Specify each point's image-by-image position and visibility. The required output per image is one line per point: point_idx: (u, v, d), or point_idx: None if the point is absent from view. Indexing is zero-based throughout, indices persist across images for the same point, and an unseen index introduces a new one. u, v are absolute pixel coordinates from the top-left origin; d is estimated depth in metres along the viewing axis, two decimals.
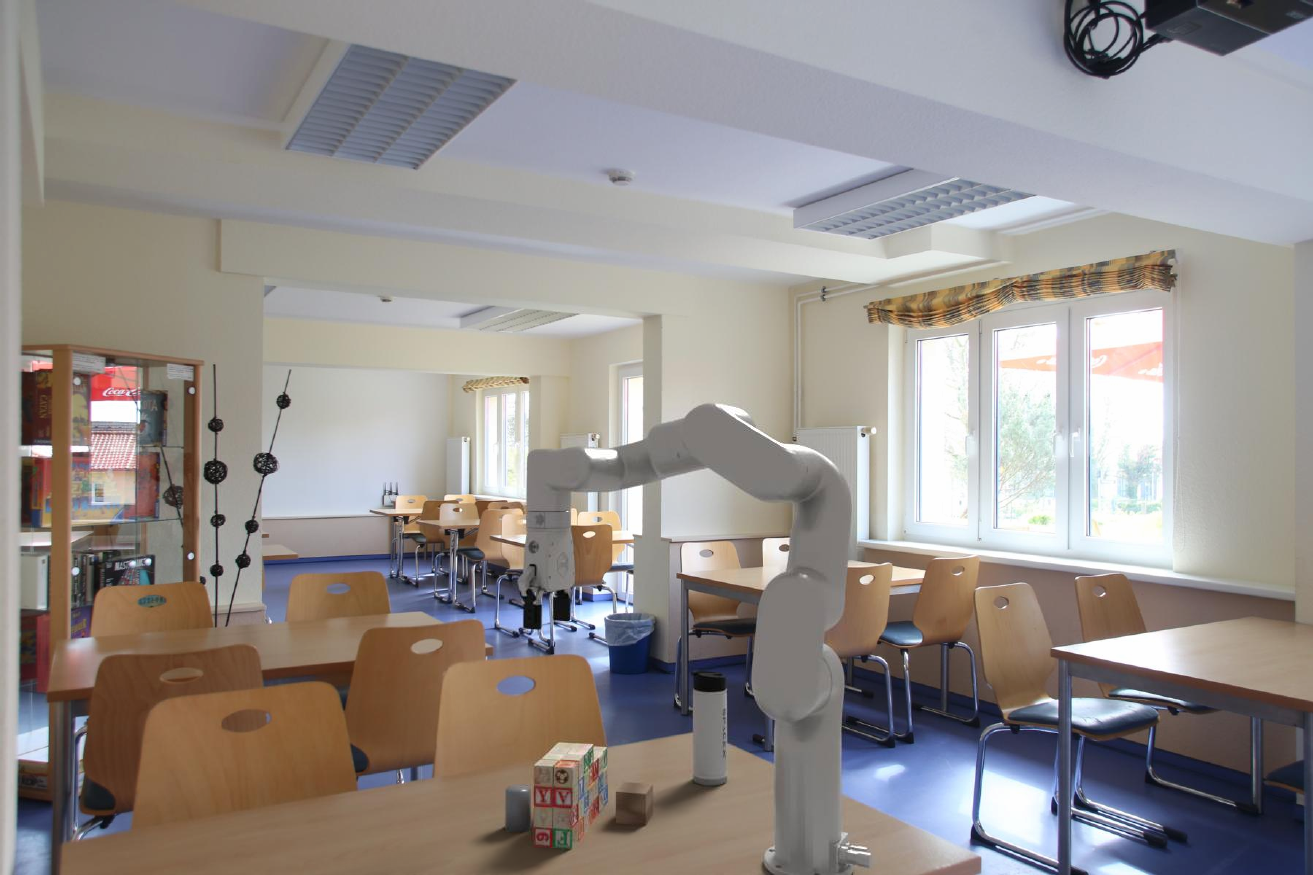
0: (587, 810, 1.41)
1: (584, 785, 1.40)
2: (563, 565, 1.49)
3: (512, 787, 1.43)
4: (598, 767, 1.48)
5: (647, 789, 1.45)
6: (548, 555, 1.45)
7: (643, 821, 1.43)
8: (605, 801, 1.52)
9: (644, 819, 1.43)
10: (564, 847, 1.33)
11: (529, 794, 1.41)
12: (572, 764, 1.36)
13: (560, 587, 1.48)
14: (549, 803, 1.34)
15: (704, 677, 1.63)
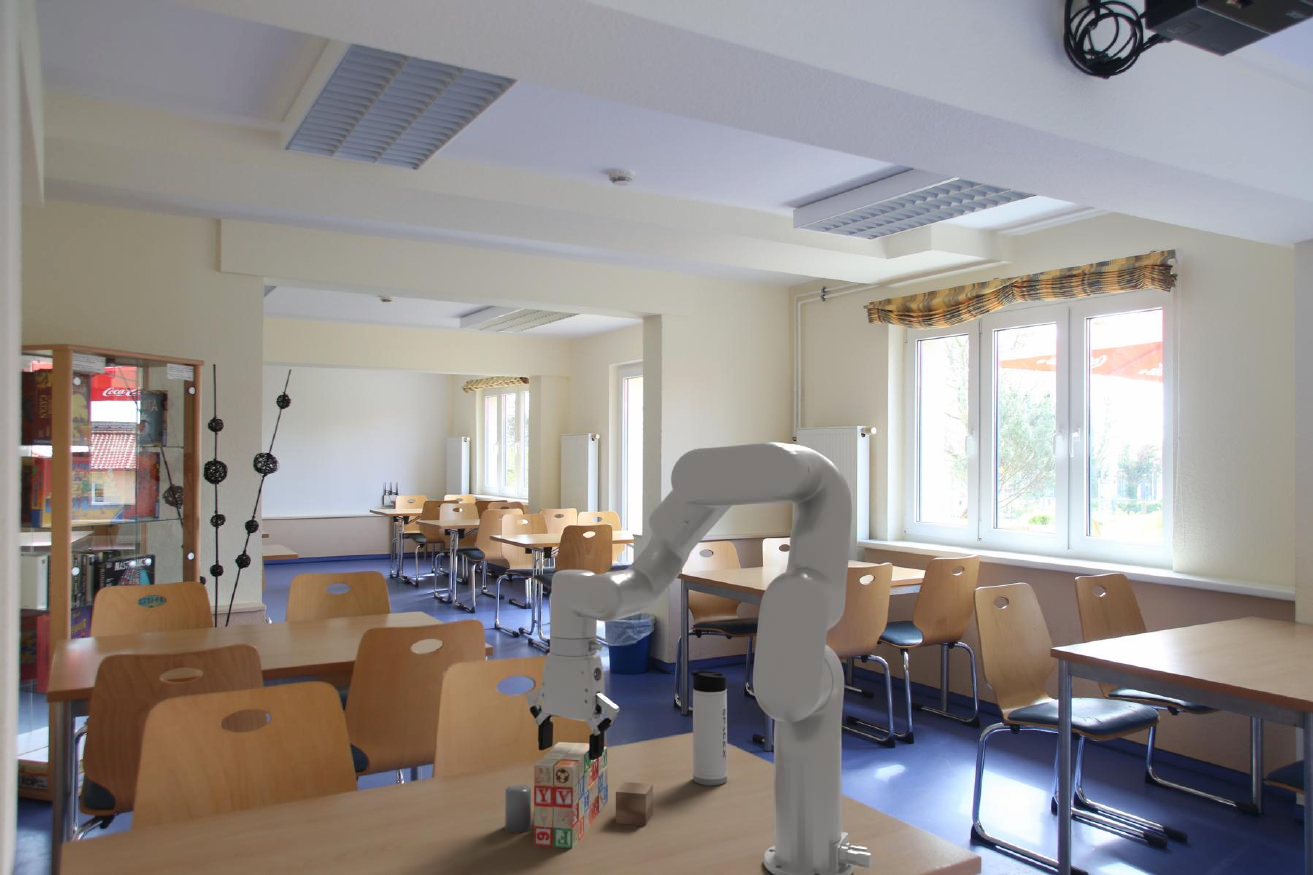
0: (587, 809, 1.41)
1: (584, 784, 1.40)
2: None
3: (512, 787, 1.43)
4: (598, 766, 1.49)
5: (647, 789, 1.45)
6: None
7: (643, 821, 1.43)
8: (605, 800, 1.53)
9: (644, 819, 1.43)
10: (564, 846, 1.34)
11: (529, 794, 1.41)
12: (572, 763, 1.36)
13: None
14: (550, 802, 1.34)
15: (704, 677, 1.63)
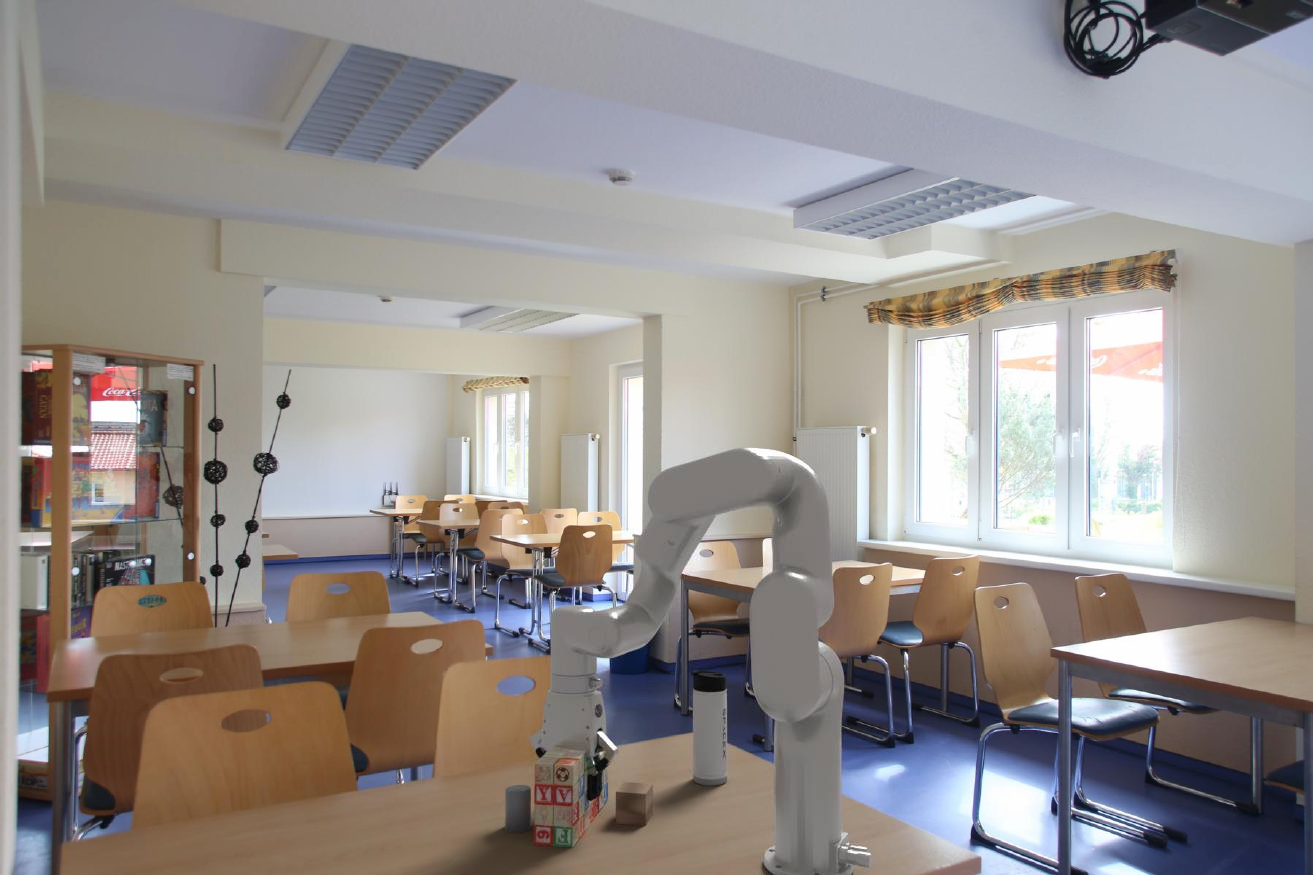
0: (587, 808, 1.42)
1: (584, 783, 1.40)
2: None
3: (512, 787, 1.43)
4: None
5: (647, 789, 1.45)
6: None
7: (643, 821, 1.43)
8: (605, 799, 1.53)
9: (644, 819, 1.43)
10: (564, 844, 1.34)
11: (529, 794, 1.41)
12: (573, 762, 1.36)
13: None
14: (550, 801, 1.35)
15: (704, 677, 1.63)
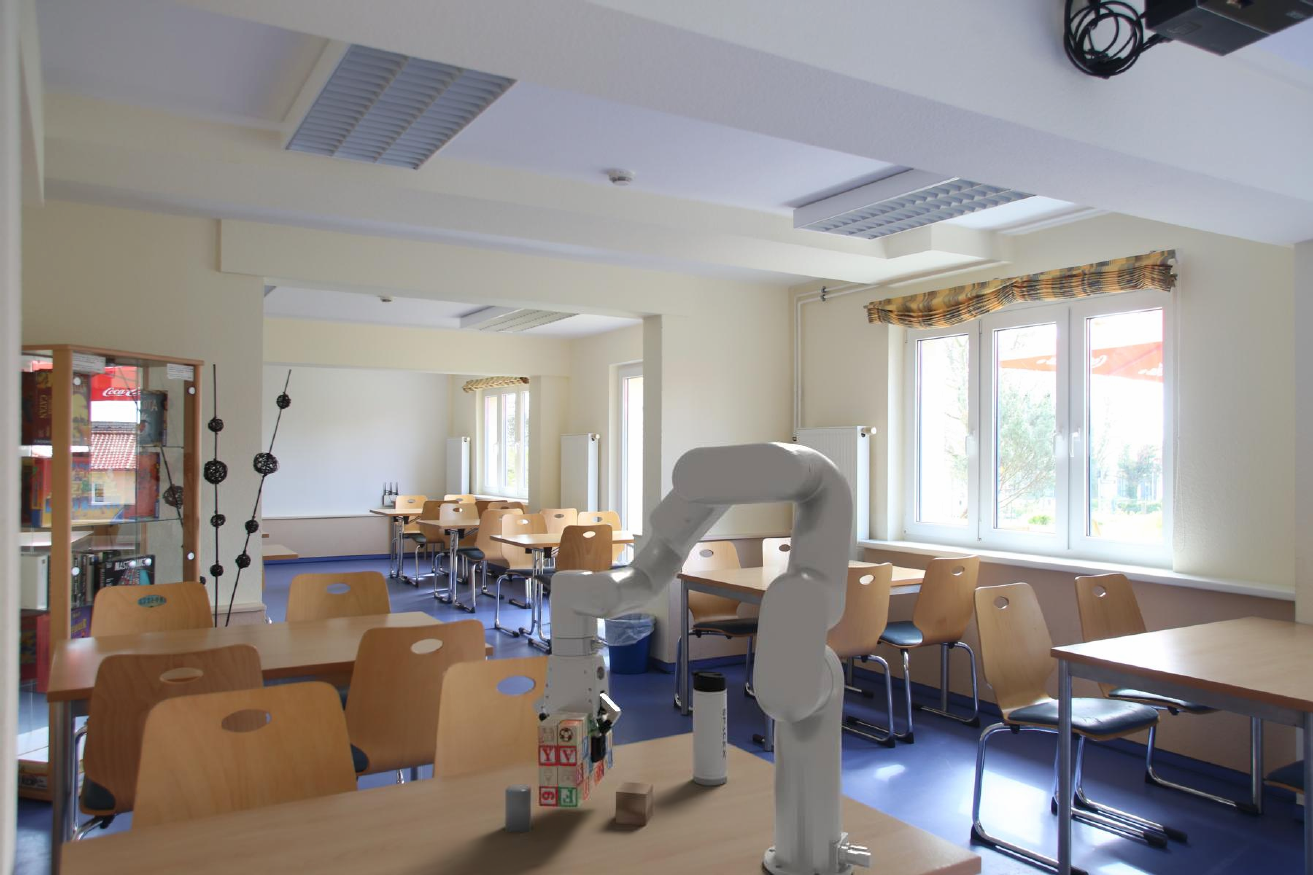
0: (592, 770, 1.42)
1: (588, 745, 1.40)
2: None
3: (512, 787, 1.43)
4: None
5: (647, 789, 1.45)
6: None
7: (643, 821, 1.43)
8: (610, 765, 1.53)
9: (644, 819, 1.43)
10: (569, 804, 1.34)
11: (529, 794, 1.41)
12: (576, 723, 1.36)
13: None
14: (554, 762, 1.35)
15: (704, 677, 1.63)
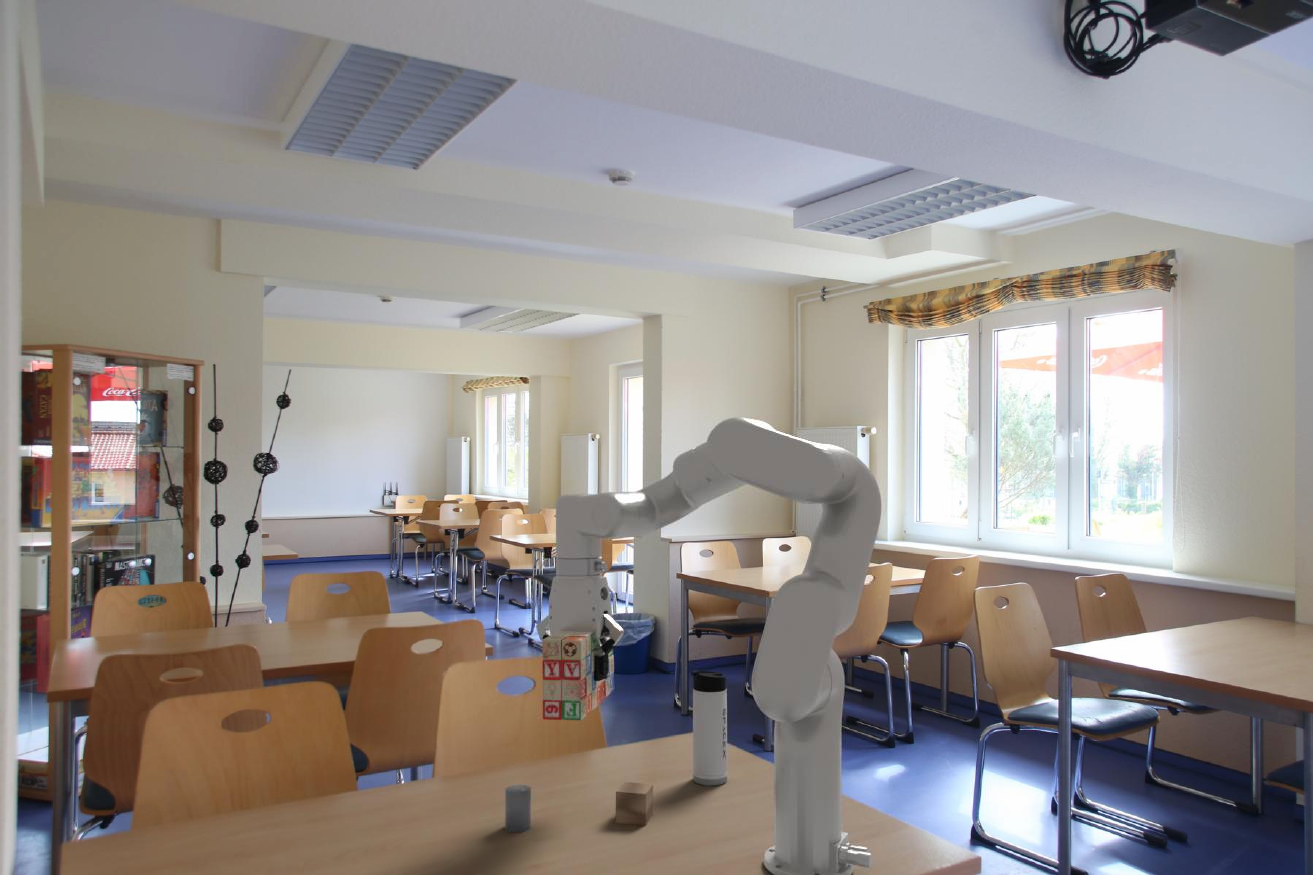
0: (595, 689, 1.44)
1: (591, 663, 1.42)
2: None
3: (512, 787, 1.43)
4: None
5: (647, 789, 1.45)
6: None
7: (643, 821, 1.43)
8: (611, 689, 1.55)
9: (644, 819, 1.43)
10: (573, 718, 1.36)
11: (529, 794, 1.41)
12: (580, 639, 1.38)
13: None
14: (558, 676, 1.37)
15: (704, 677, 1.63)
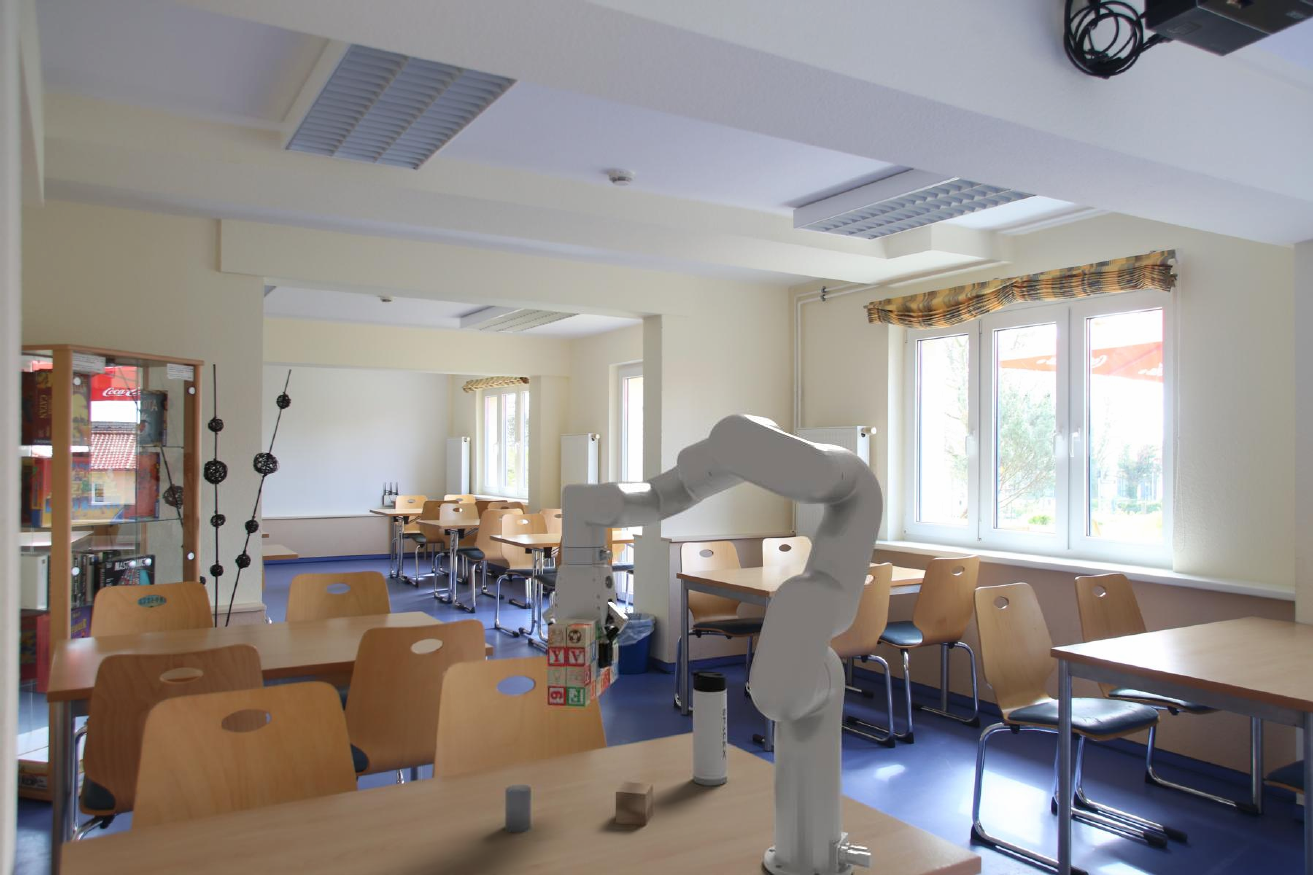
0: (599, 676, 1.45)
1: (596, 650, 1.44)
2: None
3: (512, 787, 1.43)
4: None
5: (647, 789, 1.45)
6: None
7: (643, 821, 1.43)
8: (616, 677, 1.56)
9: (644, 819, 1.43)
10: (577, 704, 1.38)
11: (529, 794, 1.41)
12: (584, 626, 1.40)
13: None
14: (563, 662, 1.38)
15: (704, 677, 1.63)
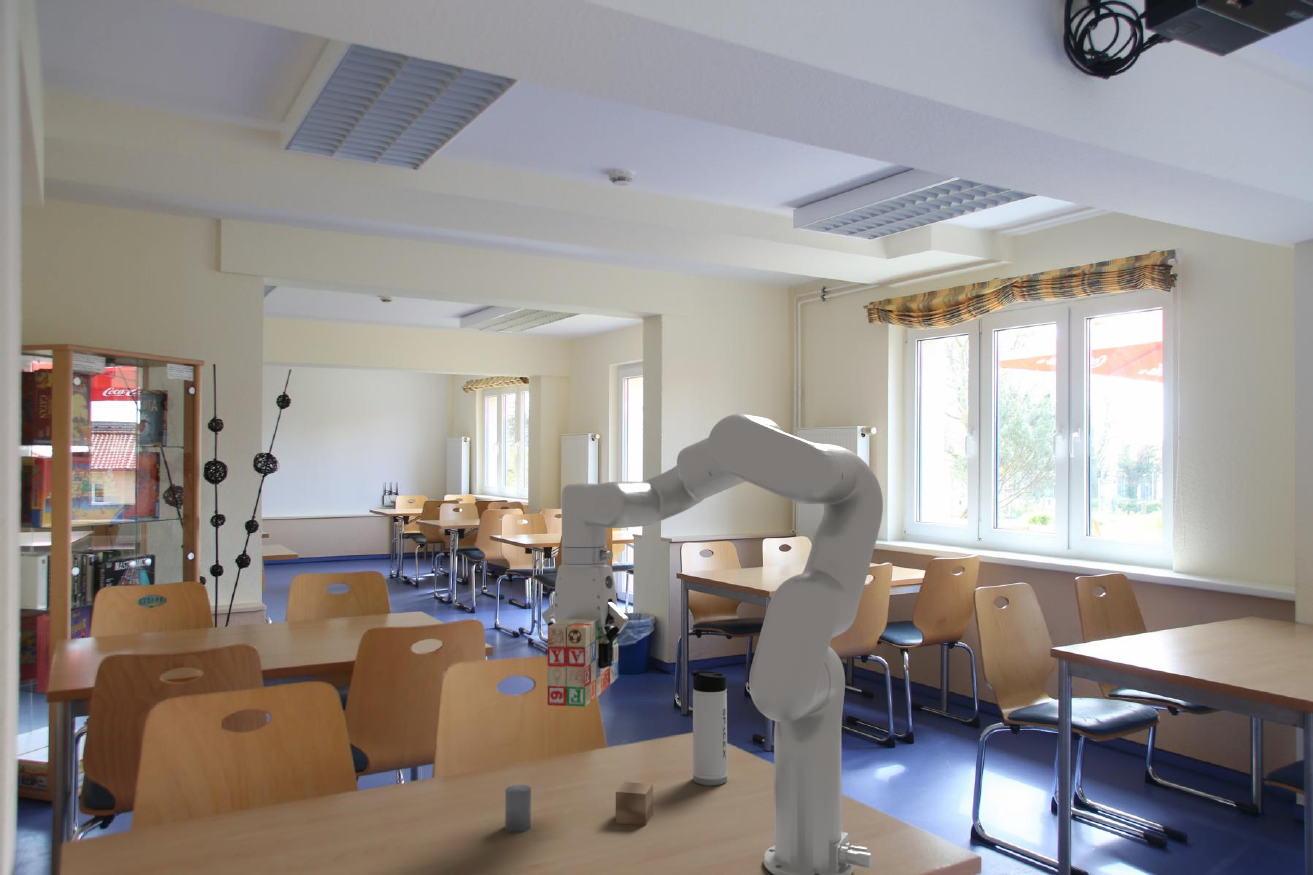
0: (599, 676, 1.45)
1: (596, 650, 1.44)
2: None
3: (512, 787, 1.43)
4: None
5: (647, 789, 1.45)
6: None
7: (643, 821, 1.43)
8: (616, 677, 1.56)
9: (644, 819, 1.43)
10: (577, 704, 1.38)
11: (529, 794, 1.41)
12: (584, 626, 1.40)
13: None
14: (563, 662, 1.38)
15: (704, 677, 1.63)
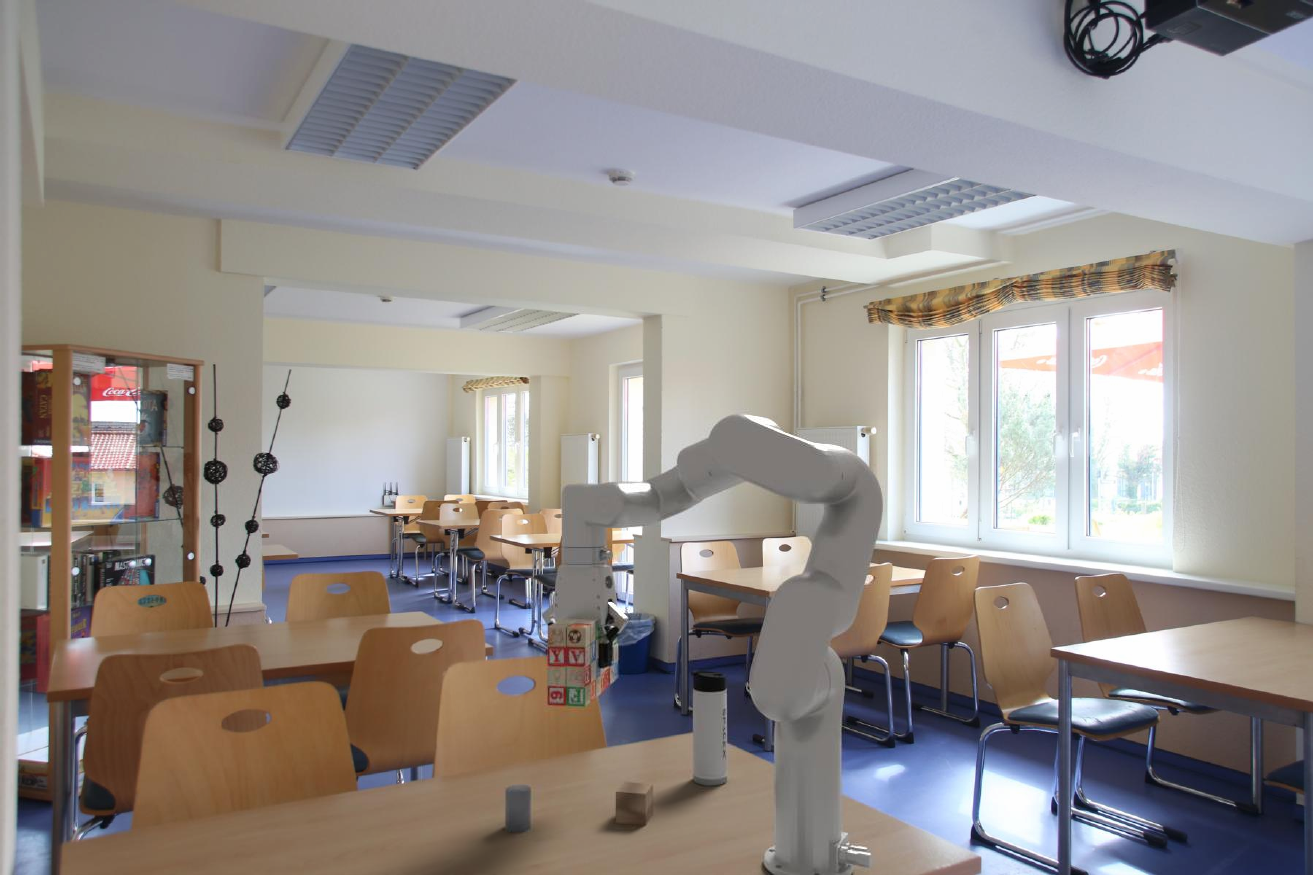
0: (599, 676, 1.45)
1: (596, 650, 1.44)
2: None
3: (512, 787, 1.43)
4: None
5: (647, 789, 1.45)
6: None
7: (643, 821, 1.43)
8: (616, 677, 1.56)
9: (644, 819, 1.43)
10: (577, 704, 1.38)
11: (529, 794, 1.41)
12: (584, 626, 1.40)
13: None
14: (563, 662, 1.38)
15: (704, 677, 1.63)
